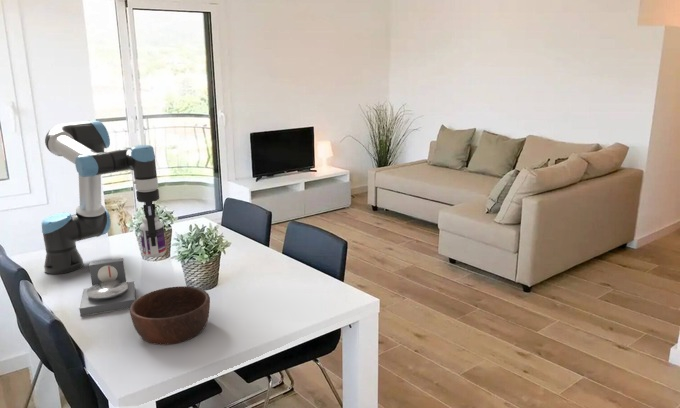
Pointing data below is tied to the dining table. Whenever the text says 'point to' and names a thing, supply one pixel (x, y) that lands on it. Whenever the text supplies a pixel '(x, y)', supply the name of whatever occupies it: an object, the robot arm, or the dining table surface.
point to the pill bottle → (159, 233)
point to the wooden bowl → (170, 314)
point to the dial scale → (103, 273)
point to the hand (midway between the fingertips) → (154, 249)
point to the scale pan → (107, 289)
